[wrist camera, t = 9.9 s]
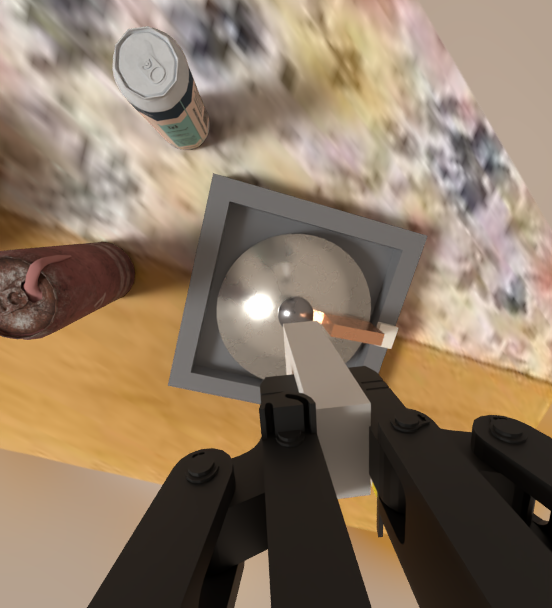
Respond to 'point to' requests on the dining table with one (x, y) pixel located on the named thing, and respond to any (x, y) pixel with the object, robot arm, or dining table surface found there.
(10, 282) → the can
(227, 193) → the dial plate
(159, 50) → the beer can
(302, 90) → the dining table surface
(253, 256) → the dial
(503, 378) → the dining table surface
